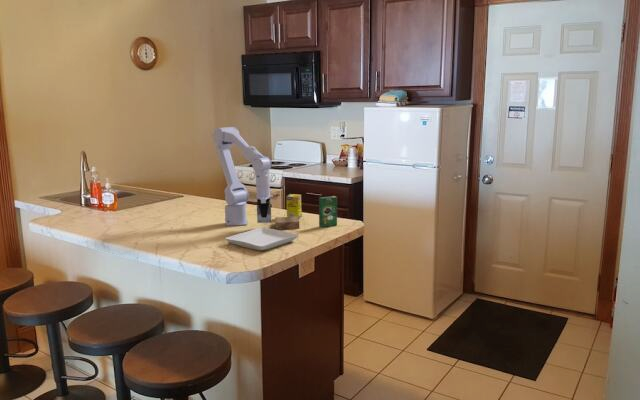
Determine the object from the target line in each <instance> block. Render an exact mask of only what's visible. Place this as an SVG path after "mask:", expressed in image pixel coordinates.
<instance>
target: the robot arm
mask: <svg viewBox="0 0 640 400" xmlns="http://www.w3.org/2000/svg"><path fill="white" fill-rule="evenodd" d="M212 137H213V138H212V139H213V141H214V144H215V147H216V151H217V152H216V153H217V155H218V159H219V162H220V165H221V168H222V170H223V175H224V178H225V181H226V185H227V186H226V187H225V188H224V191H223V192H224V199H225V202H226V204H225V205H224V214H225V216H224V217H225V218H224V221H225V226H227V227H228V226H230V227H231V226H247V225H248V221H249V220H248V219H247V206H246V205H247V203H248V201H249V198H250V194H249V192H248V190H247V188H246V185H245V184H243V183H242V182H240V179H239V177H238V174H237V170H236V167H235V165H234V164H235V163H234V161H233V157H232V154H231V150H230V149H231V147H233V145H235V146H236V147H237V148H239V150H241V151H242V152H243V156H244V157H245V158H246V159H247V160H248V162H249V163H250V164H251V165H252V167H251V168H252V169H253V171H254V174H255V175H254V176H255V187H256V188H255V189H256V196H255V197H256V205H258V206H259V209H260V213H261V217H262V218H266V217H267V211H268V207H269V205H271V201H270V200H271V198H273V194H271V189H270V188H271V187H270V170H271V168H272V165H273V164H272V160H271V159H270V157H269V156H265V155H263V154H262V153H261V152H260V151H259V150H257V148H256V147H255V146H252V145H249V144H248V143H247V142H246V140H244V138H243V137H242V136H241V135H240V131H239V130H238V129H237V128H236V127H235V126H228V127H227V126H226V127H216V128H215V129H214V130H213V134H212Z"/></svg>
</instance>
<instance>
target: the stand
mask: <svg viewBox="0 0 640 400" xmlns="http://www.w3.org/2000/svg"><path fill="white" fill-rule="evenodd" d="M275 228H276V229H275V230H292V229H293V230H295V229H300V218H299V219H298V216H297V217H287V216H282V217H281V216H278V217H277V216H276V217H275Z"/></svg>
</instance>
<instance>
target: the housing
mask: <svg viewBox="0 0 640 400" xmlns="http://www.w3.org/2000/svg"><path fill="white" fill-rule="evenodd" d="M256 218H257V219H256V221H257V223H258V224H260V223H261V224H262V223H263V224H264V223H265V224H266V223H272V205H271V204H269V207H268V211H267V217H266V218H262V217H261V213H260V209H259V206H258V204H256Z"/></svg>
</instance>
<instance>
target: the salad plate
mask: <svg viewBox="0 0 640 400" xmlns="http://www.w3.org/2000/svg"><path fill="white" fill-rule="evenodd" d="M298 237H299V234H297V233H293V232H290V231H289V232H288V231H283V230H281V229H274V228H268V227H259V228H256V229H252V230H248V231H244V232H240V233H237V234H233V235H231V236H230V235H229V236H227V237H225V241H227V242H229V243H230V244H233V245H236V246H239V247H242V248H247V249H250V250H251V249H252V250H254V251H255V250H256V251H268V250H270V249H274V248H276V247H279V246H282V245H285V244H288V243H290V242H293V241H294V240H296V239H297V238H298Z"/></svg>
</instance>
